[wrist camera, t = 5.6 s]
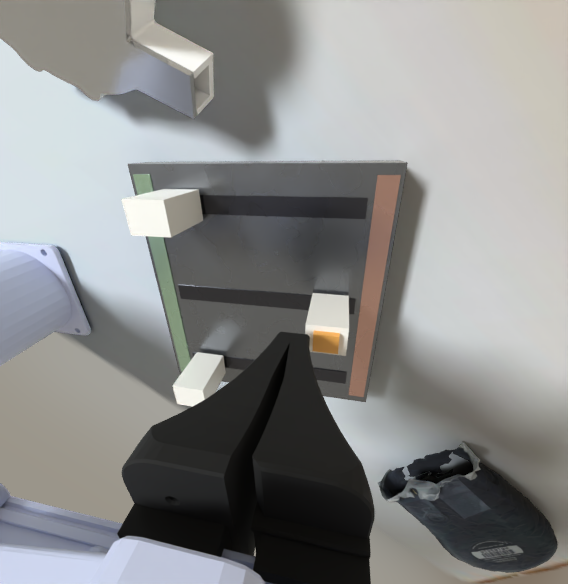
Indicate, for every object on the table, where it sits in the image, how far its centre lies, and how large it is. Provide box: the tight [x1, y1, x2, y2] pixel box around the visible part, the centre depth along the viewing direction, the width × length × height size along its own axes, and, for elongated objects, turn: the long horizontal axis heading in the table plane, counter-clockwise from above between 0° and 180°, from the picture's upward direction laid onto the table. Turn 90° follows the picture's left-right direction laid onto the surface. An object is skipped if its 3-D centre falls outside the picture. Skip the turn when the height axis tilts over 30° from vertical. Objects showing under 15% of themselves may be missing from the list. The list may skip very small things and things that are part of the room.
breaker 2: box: [173, 352, 226, 407], centre depth 19 cm, size 2×2×3 cm
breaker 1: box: [121, 189, 203, 237], centre depth 14 cm, size 2×2×3 cm
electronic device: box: [378, 442, 557, 573], centre depth 24 cm, size 9×6×15 cm
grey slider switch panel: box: [128, 161, 407, 402], centre depth 18 cm, size 14×15×2 cm
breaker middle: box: [305, 293, 349, 356], centre depth 14 cm, size 2×2×4 cm
